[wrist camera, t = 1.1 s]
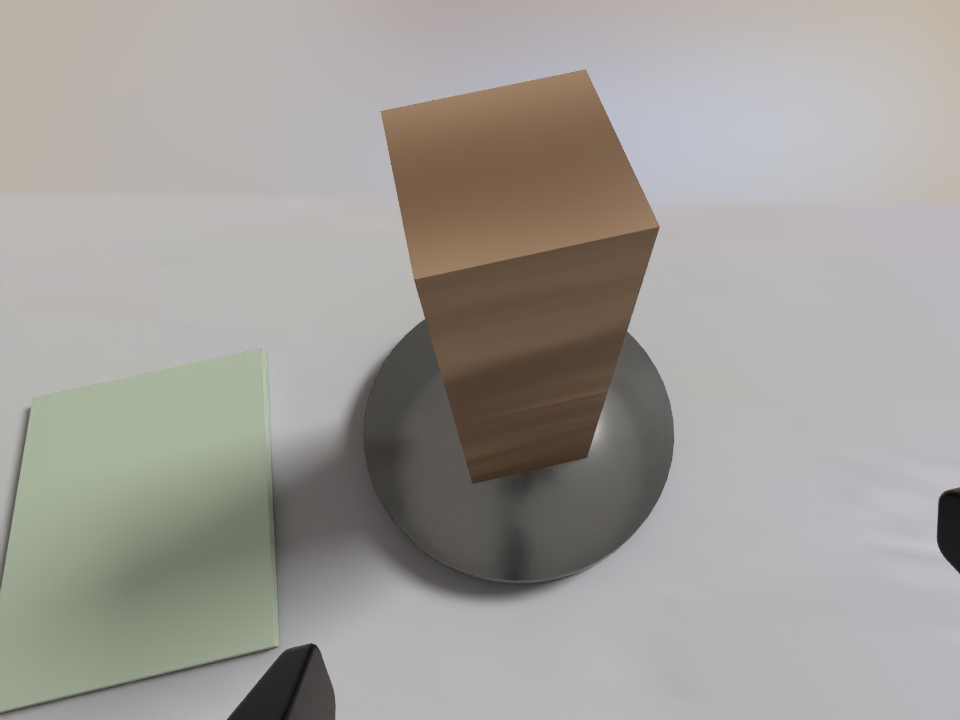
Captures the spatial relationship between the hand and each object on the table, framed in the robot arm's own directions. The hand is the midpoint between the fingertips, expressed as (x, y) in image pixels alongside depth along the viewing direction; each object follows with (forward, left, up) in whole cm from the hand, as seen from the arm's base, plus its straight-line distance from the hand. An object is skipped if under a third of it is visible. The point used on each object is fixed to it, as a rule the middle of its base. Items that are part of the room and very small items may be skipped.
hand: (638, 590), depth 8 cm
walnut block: (+8, 0, -12) cm, 15 cm away
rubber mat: (+8, +15, -13) cm, 21 cm away
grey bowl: (+8, 0, -13) cm, 15 cm away
